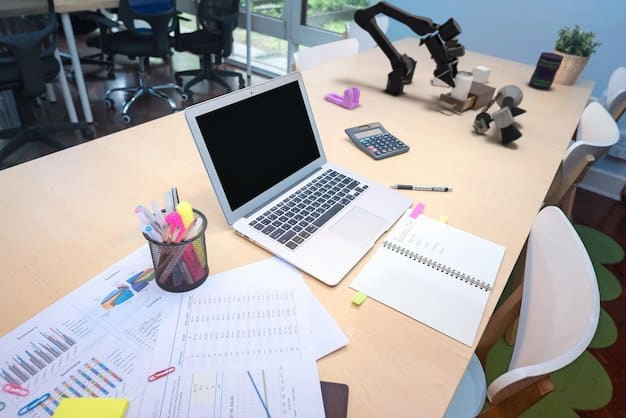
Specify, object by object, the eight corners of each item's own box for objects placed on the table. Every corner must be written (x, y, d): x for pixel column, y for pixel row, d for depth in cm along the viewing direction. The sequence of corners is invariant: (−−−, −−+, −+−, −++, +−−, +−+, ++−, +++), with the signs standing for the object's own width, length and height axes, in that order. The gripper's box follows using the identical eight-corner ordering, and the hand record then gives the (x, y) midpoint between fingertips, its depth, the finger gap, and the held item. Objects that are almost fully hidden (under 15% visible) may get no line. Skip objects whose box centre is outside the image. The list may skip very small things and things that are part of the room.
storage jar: (523, 83, 193) (536, 52, 184) (539, 83, 196) (552, 52, 187) (538, 90, 185) (552, 58, 176) (554, 90, 188) (568, 58, 179)
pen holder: (389, 82, 178) (394, 59, 172) (394, 76, 185) (398, 54, 179) (410, 86, 175) (415, 63, 170) (413, 80, 183) (418, 58, 177)
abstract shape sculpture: (490, 126, 160) (480, 154, 137) (477, 99, 157) (464, 122, 134) (530, 110, 150) (526, 136, 128) (517, 80, 147) (511, 102, 125)
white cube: (477, 78, 194) (481, 65, 190) (487, 82, 190) (491, 69, 186) (469, 79, 191) (473, 66, 188) (478, 83, 187) (482, 70, 184)
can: (452, 98, 161) (461, 69, 154) (467, 103, 158) (477, 73, 151) (445, 102, 157) (454, 72, 150) (460, 107, 154) (470, 76, 146)
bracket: (358, 105, 152) (361, 88, 148) (349, 109, 148) (352, 91, 144) (332, 95, 158) (334, 78, 154) (323, 98, 155) (325, 81, 150)
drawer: (454, 115, 149) (458, 104, 147) (431, 106, 155) (434, 96, 152) (478, 105, 160) (481, 95, 158) (455, 97, 166) (458, 87, 164)
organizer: (473, 110, 158) (478, 95, 154) (448, 100, 164) (452, 86, 161) (491, 102, 167) (496, 88, 164) (466, 93, 174) (471, 80, 170)
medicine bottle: (448, 87, 179) (456, 60, 172) (433, 85, 180) (440, 58, 172) (447, 82, 184) (455, 56, 177) (432, 80, 185) (439, 54, 178)
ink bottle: (456, 64, 210) (463, 41, 203) (440, 63, 210) (446, 39, 203) (451, 59, 218) (457, 36, 211) (435, 58, 218) (441, 35, 211)
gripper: (451, 41, 138) (472, 79, 141) (460, 32, 152) (480, 67, 155) (424, 59, 146) (444, 95, 149) (435, 49, 159) (454, 82, 162)
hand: (456, 84), depth 154 cm, fingers open, 9 cm apart
